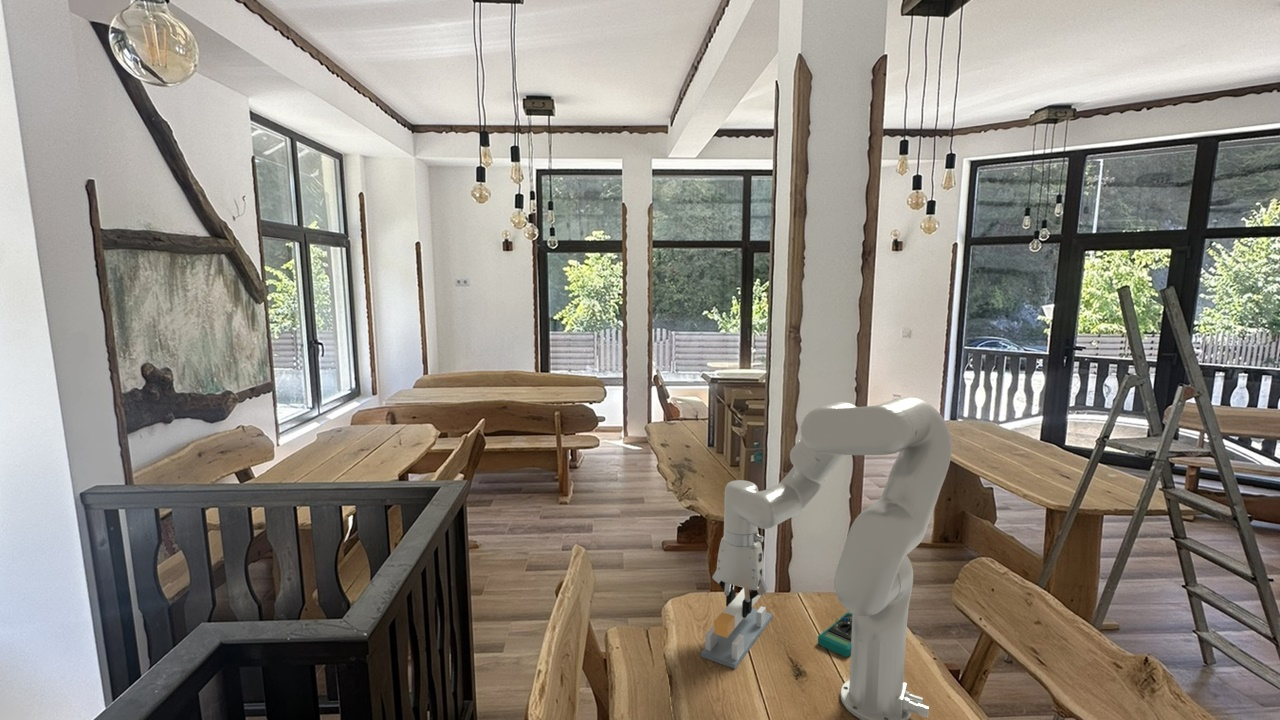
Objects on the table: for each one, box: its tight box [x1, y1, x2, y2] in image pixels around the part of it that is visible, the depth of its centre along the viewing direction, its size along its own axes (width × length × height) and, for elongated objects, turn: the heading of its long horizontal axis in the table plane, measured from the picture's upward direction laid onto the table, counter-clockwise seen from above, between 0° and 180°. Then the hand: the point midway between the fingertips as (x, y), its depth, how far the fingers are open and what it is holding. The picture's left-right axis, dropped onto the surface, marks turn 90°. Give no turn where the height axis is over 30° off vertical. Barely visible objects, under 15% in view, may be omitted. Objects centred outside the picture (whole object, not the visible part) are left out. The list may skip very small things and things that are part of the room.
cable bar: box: [713, 587, 762, 638], centre depth 134 cm, size 3×20×3 cm, turn 148°
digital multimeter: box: [817, 612, 853, 658], centre depth 134 cm, size 7×15×3 cm, turn 135°
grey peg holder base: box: [700, 605, 774, 670], centre depth 134 cm, size 8×23×4 cm, turn 148°
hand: (738, 611), depth 134 cm, fingers closed on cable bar, 3 cm apart
